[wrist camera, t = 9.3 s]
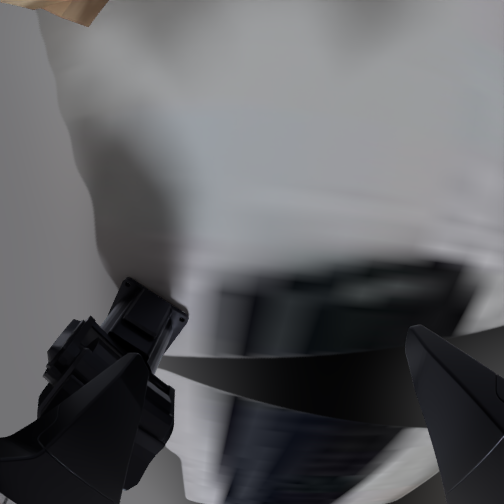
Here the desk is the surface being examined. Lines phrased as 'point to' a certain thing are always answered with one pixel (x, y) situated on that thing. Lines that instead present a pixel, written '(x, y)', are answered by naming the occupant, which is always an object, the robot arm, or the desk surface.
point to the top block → (32, 3)
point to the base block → (77, 10)
